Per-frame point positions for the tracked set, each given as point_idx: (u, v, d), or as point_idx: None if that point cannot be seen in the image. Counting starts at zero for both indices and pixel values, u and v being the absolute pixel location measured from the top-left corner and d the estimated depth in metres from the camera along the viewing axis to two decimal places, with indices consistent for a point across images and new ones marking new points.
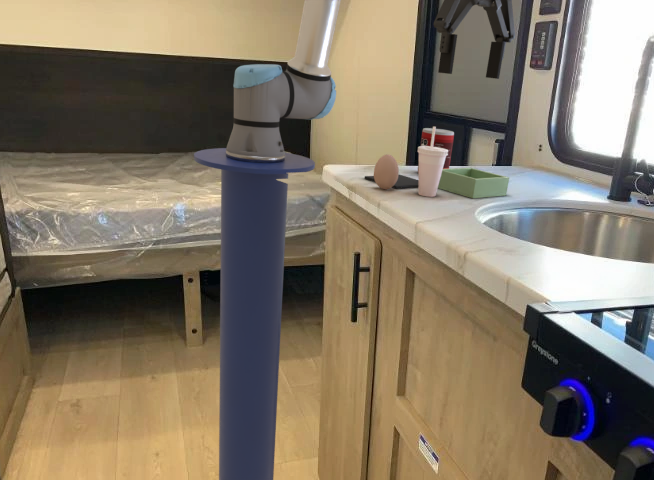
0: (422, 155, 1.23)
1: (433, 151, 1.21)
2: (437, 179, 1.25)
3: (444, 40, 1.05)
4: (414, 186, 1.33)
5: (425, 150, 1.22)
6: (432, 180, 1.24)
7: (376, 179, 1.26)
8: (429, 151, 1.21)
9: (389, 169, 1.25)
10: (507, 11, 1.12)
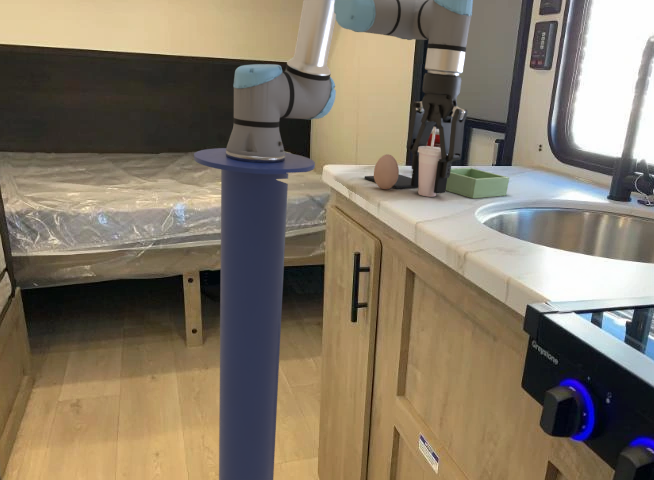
0: (422, 155, 1.23)
1: (433, 151, 1.21)
2: None
3: (449, 168, 1.22)
4: (414, 186, 1.33)
5: (425, 150, 1.22)
6: (432, 180, 1.24)
7: (376, 179, 1.26)
8: (429, 151, 1.21)
9: (389, 169, 1.25)
10: (421, 125, 1.27)
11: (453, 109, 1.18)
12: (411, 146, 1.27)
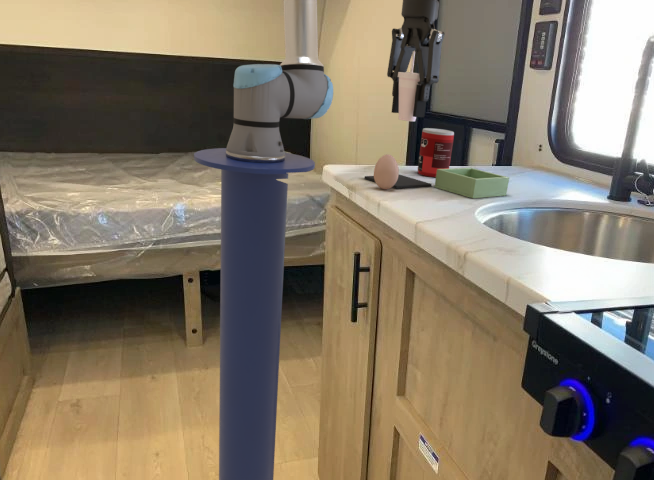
0: (402, 79, 1.27)
1: (412, 74, 1.25)
2: None
3: (427, 91, 1.26)
4: (414, 186, 1.33)
5: (404, 74, 1.26)
6: (412, 104, 1.28)
7: (376, 179, 1.26)
8: (408, 74, 1.25)
9: (389, 169, 1.25)
10: None
11: (431, 32, 1.22)
12: (392, 73, 1.31)
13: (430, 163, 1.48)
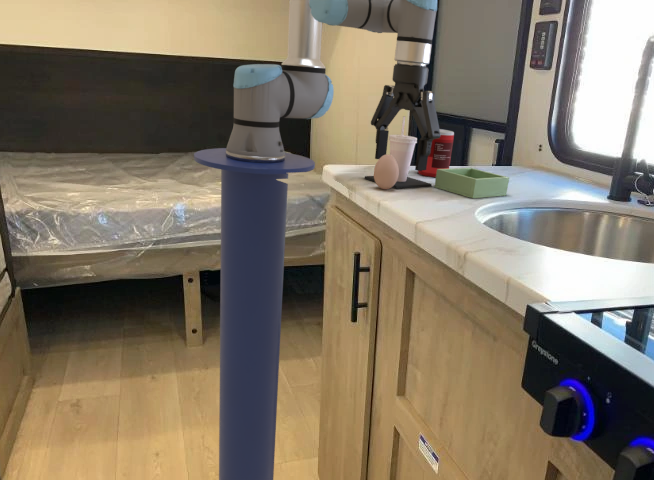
0: (393, 143, 1.32)
1: (402, 139, 1.31)
2: (407, 165, 1.34)
3: (429, 146, 1.28)
4: (414, 186, 1.33)
5: (395, 138, 1.31)
6: (402, 166, 1.34)
7: (376, 179, 1.26)
8: (399, 139, 1.31)
9: (389, 169, 1.25)
10: (388, 106, 1.37)
11: (421, 94, 1.27)
12: (375, 122, 1.38)
13: (430, 163, 1.48)
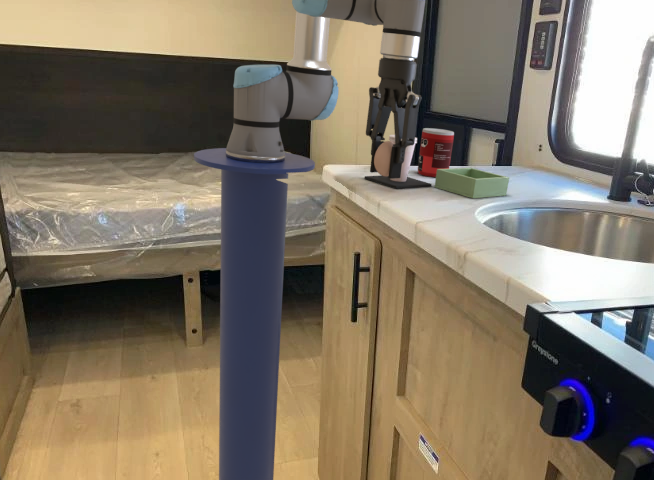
0: None
1: None
2: (407, 165, 1.34)
3: (403, 153, 1.23)
4: (414, 186, 1.33)
5: None
6: (402, 166, 1.34)
7: (376, 166, 1.26)
8: None
9: (389, 156, 1.24)
10: None
11: (407, 94, 1.18)
12: (370, 132, 1.28)
13: (430, 163, 1.48)
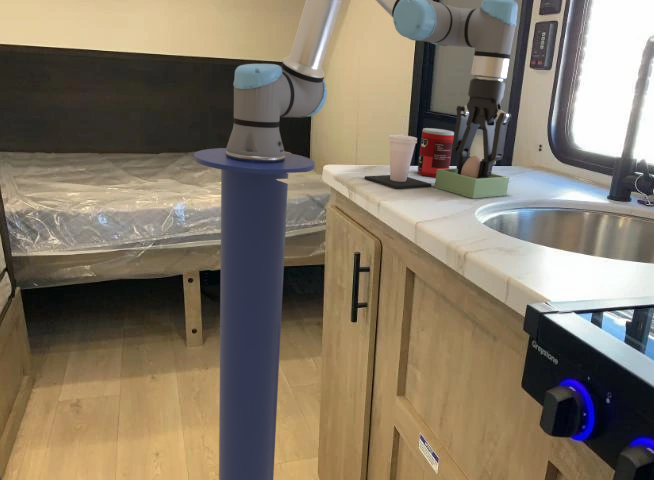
0: (393, 143, 1.32)
1: (402, 139, 1.31)
2: (407, 165, 1.34)
3: (490, 167, 1.31)
4: (414, 186, 1.33)
5: (395, 138, 1.31)
6: (402, 166, 1.34)
7: None
8: (399, 139, 1.31)
9: (477, 170, 1.32)
10: (465, 127, 1.35)
11: (497, 112, 1.26)
12: (456, 147, 1.36)
13: (430, 163, 1.48)
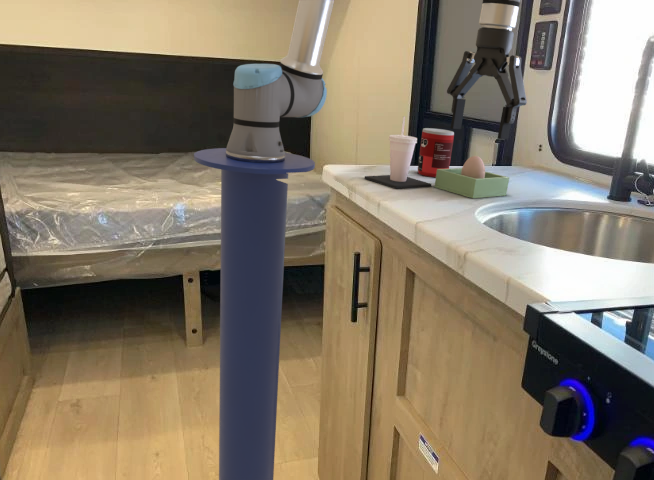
0: (393, 143, 1.32)
1: (402, 139, 1.31)
2: (407, 165, 1.34)
3: (514, 113, 1.24)
4: (414, 186, 1.33)
5: (395, 138, 1.31)
6: (402, 166, 1.34)
7: None
8: (399, 139, 1.31)
9: (477, 170, 1.32)
10: (467, 74, 1.33)
11: (507, 60, 1.22)
12: (452, 90, 1.34)
13: (430, 163, 1.48)
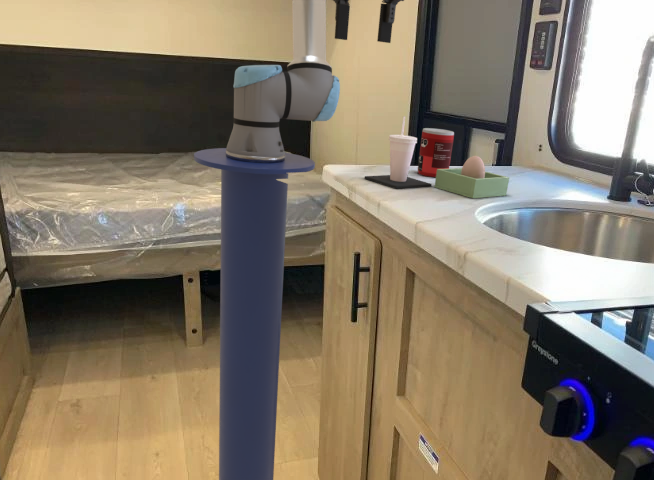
0: (393, 143, 1.32)
1: (402, 139, 1.31)
2: (407, 165, 1.34)
3: (393, 11, 1.12)
4: (414, 186, 1.33)
5: (395, 138, 1.31)
6: (402, 166, 1.34)
7: None
8: (399, 139, 1.31)
9: (477, 170, 1.32)
10: None
11: None
12: None
13: (430, 163, 1.48)
